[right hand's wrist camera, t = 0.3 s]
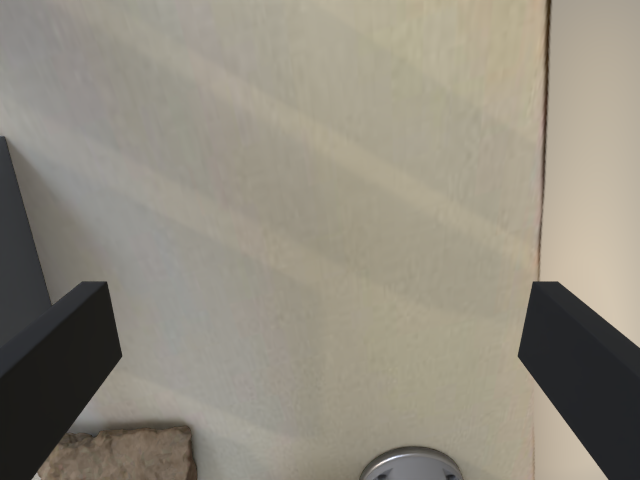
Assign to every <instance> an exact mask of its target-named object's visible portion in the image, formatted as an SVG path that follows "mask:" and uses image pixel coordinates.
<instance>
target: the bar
mask: <svg viewBox="0 0 640 480" xmlns="http://www.w3.org/2000/svg"><path fill="white" fill-rule="evenodd" d="M50 307H51V302H50V298H49V295H48V291H47V288H46V284H45V280H44V277H43V273H42V270H41V266H40V262H39V259H38V255H37V252H36V248H35V244H34V241H33V237H32V234H31V230H30V226H29V223H28V219H27V216H26V212H25V208H24V205H23V201H22V198H21V194H20V190H19V187H18V183H17V180H16V176H15V172H14V169H13V165H12V162H11V158H10V154H9V151H8V147H7V144H6V140H5V137H4V136H0V348H1V347H2V346H3V345H5V344H6V343H7V342H8V341H10V340H11V339H12V338H13V337H15V336H16V335H17V334H18V333H19V332H21V331H22V330H23V329H24V328H26V327H27V326H28V325H29V324H31V323H32V322H33V321H34V320H35V319H37V318H38V317H39V316H40V315H42V314H43V313H44V312H45V311H47V310H48V309H49V308H50Z"/></svg>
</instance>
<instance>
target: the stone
mask: <svg viewBox="0 0 640 480" xmlns="http://www.w3.org/2000/svg"><path fill="white" fill-rule="evenodd" d="M191 437H192V434H191V430H190V429H189V427H187V426H183V427H173V428H168V429H163V430H156V429H151V428H141V429H135V430H124V429H120V430H105V431H100V432H99V434H98V435H97V437H92V435H89V434H85V433H78V434H73V433H65V435H64V436H63V438H62V439H61V440H60V442H59V443H58V444H57V446H56V447H55V448H54V450H53V451H52V452H51V454H50V455H49V456H48V458H47V459H46V461H45V462H44V463H43V465H42V466H41V467H40V469H39V470H38V471H37V473H38V475H39V477H41V480H197V468H196V465H195V463H194V461H193V459H192V444H191Z"/></svg>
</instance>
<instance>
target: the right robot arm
mask: <svg viewBox="0 0 640 480" xmlns="http://www.w3.org/2000/svg"><path fill="white" fill-rule="evenodd" d="M121 358H122V352H121V347H120V342H119V338H118V333H117V328H116V323H115V318H114V313H113V308H112V303H111V298H110V294H109V289H108V284H107V282H81V283H80V284H79V285H77V286H76V287H75V288H74V289H72V290H71V291H70V292H69V293H67V294H66V295H65V296H64V297H63V298H61V299H60V300H59V301H58V302H56V303H55V304H54V305H53V306H51V307H50V308H49V309H48V310H47V311H45V312H44V313H43V314H42V315H40V316H39V317H38V318H37V319H35V320H34V321H33V322H32V323H31V324H29V325H28V326H27V327H26V328H24V329H23V330H22V331H21V332H19V333H18V334H17V335H16V336H15V337H13V338H12V339H11V340H10V341H8V342H7V343H6V344H5V345H3V346H2V347H1V348H0V480H32V478H33V477H34V475H35V474H36V473H37V471H38V470H39V469H40V467H41V466H42V465H43V463H44V462H45V461H46V459H47V458H48V456H49V455H50V454H51V452H52V451H53V450H54V448H55V447H56V446H57V444H58V443H59V442H60V440H61V439H62V438H63V436H64V435H65V433H66V432H67V431H68V429H69V428H70V427H71V425H72V424H73V423H74V421H75V420H76V419H77V417H78V416H79V414H80V413H81V412H82V410H83V409H84V408H85V406H86V405H87V404H88V402H89V401H90V400H91V398H92V397H93V395H94V394H95V393H96V391H97V390H98V389H99V387H100V386H101V385H102V383H103V382H104V381H105V379H106V378H107V376H108V375H109V374H110V372H111V371H112V370H113V368H114V367H115V366H116V364H117V363H118V362H119V360H120V359H121ZM518 358H519V359H520V360H521V362H522V363H523V364H524V366H525V367H526V368H527V370H528V371H529V372H530V374H531V375H532V376H533V378H534V379H535V381H536V382H537V383H538V384H539V386H540V387H541V389H542V390H543V391H544V393H545V394H546V395H547V397H548V398H549V400H550V401H551V402H552V404H553V405H554V406H555V408H556V409H557V410H558V412H559V413H560V414H561V416H562V417H563V419H564V420H565V421H566V423H567V424H568V425H569V427H570V428H571V429H572V431H573V432H574V433H575V435H576V436H577V437H578V439H579V440H580V442H581V443H582V444H583V446H584V447H585V448H586V450H587V451H588V452H589V454H590V455H591V456H592V458H593V459H594V461H595V462H596V463H597V465H598V466H599V467H600V469H601V470H602V471H603V473H604V474H605V475H606V477H607V478H608V480H640V348H639V347H638V346H636V345H635V344H634V343H633V342H632V341H630V340H629V339H628V338H627V337H625V336H624V335H623V334H622V333H621V332H619V331H618V330H617V329H616V328H614V327H613V326H612V325H611V324H609V323H608V322H607V321H606V320H604V319H603V318H602V317H601V316H600V315H598V314H597V313H596V312H595V311H593V310H592V309H591V308H590V307H589V306H587V305H586V304H585V303H584V302H582V301H581V300H580V299H579V298H577V297H576V296H575V295H574V294H572V293H571V292H570V291H569V290H568V289H566V288H565V287H564V286H563V285H561V284H560V283H559V282H533V284H532V289H531V294H530V298H529V303H528V308H527V313H526V318H525V323H524V328H523V333H522V338H521V342H520V347H519V352H518ZM359 480H463V478H462V475H461V472H460V470H459V468H458V466H457V465H456V463H455V462H454V461H453V460H452V459H451V458H449V457H448V456H447V455H445V454H443V453H441V452H439V451H436V450H433V449H429V448H424V447H405V448H399V449H395V450H392V451H389V452H386V453H384V454H382V455H380V456H379V457H377V458H375V459H374V460H373V461H372V462H370V463H369V464H368V465H367V467H366V468H365V469H364V471H363V472H362V474H361V476H360V479H359Z"/></svg>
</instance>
